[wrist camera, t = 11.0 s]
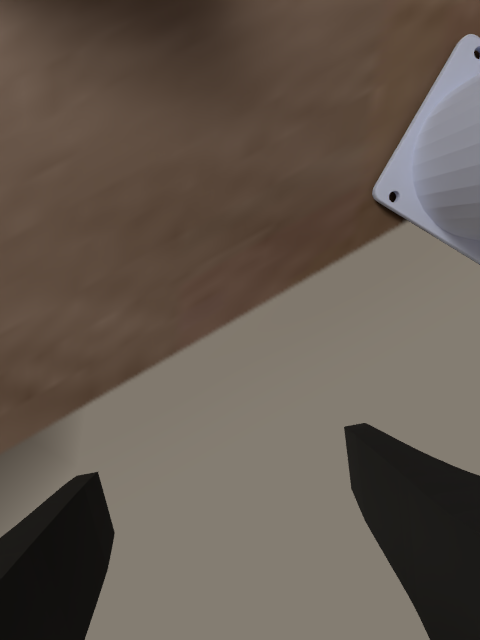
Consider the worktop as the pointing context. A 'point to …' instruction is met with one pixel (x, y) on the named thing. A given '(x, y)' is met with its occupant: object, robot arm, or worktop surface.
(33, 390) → the worktop surface
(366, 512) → the robot arm
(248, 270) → the worktop surface
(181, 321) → the worktop surface
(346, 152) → the worktop surface
